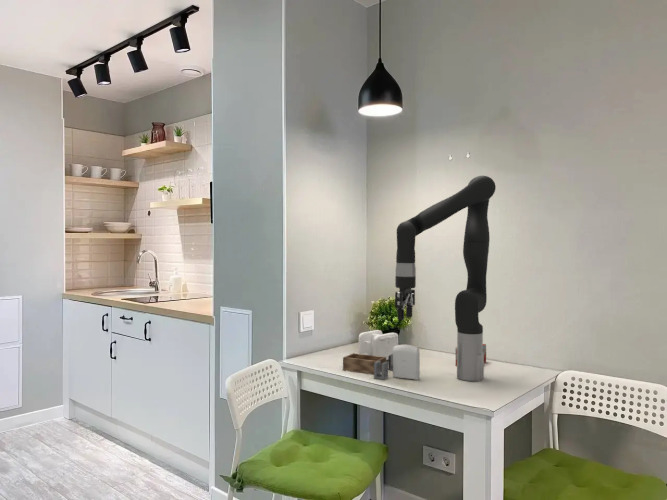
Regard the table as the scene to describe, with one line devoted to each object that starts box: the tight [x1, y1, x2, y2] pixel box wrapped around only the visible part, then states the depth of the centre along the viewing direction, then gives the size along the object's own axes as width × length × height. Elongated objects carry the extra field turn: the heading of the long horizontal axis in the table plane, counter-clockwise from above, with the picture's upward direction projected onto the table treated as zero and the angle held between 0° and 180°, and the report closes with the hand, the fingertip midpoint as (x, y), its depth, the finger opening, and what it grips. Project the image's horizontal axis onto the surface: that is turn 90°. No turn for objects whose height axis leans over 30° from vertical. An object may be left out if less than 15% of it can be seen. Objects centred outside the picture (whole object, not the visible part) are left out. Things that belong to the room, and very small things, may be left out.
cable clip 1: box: [373, 361, 389, 380], centre depth 198 cm, size 4×4×6 cm
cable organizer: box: [358, 329, 399, 361], centre depth 229 cm, size 15×11×12 cm
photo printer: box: [392, 344, 421, 381], centre depth 199 cm, size 10×4×12 cm, turn 63°
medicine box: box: [454, 343, 487, 367], centre depth 221 cm, size 15×8×8 cm, turn 145°
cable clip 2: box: [387, 354, 393, 372], centre depth 210 cm, size 4×4×6 cm
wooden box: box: [342, 352, 387, 375], centre depth 210 cm, size 15×9×5 cm, turn 62°
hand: (405, 318), depth 199 cm, fingers open, 8 cm apart
